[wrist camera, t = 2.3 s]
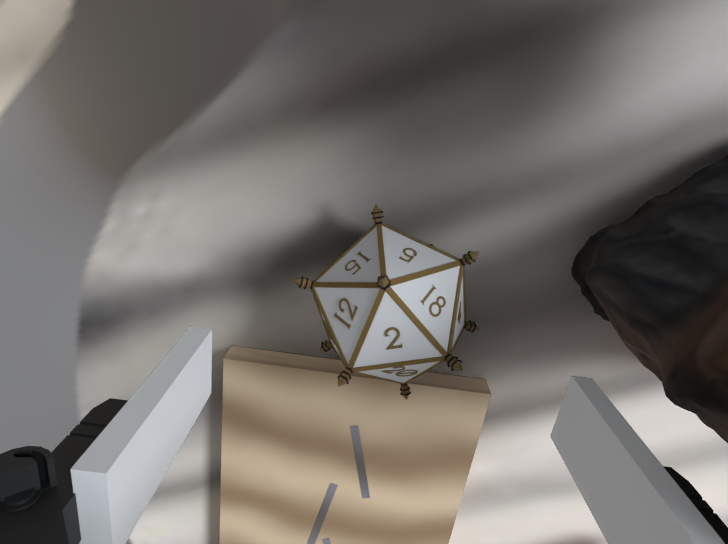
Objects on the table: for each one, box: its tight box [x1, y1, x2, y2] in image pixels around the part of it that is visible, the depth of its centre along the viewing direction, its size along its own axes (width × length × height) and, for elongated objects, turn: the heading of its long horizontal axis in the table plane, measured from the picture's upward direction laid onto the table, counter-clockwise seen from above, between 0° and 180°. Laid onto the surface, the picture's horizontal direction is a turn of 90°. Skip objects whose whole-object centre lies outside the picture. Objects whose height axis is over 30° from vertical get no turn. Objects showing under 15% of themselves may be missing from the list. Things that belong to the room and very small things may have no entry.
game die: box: [293, 204, 479, 400], centre depth 22 cm, size 9×8×10 cm
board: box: [219, 345, 491, 544], centre depth 31 cm, size 23×16×2 cm
